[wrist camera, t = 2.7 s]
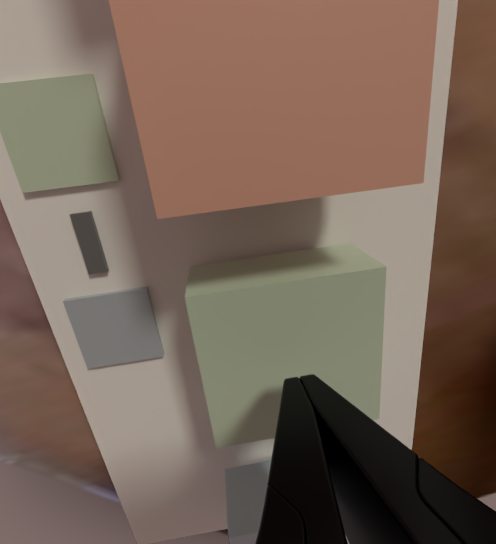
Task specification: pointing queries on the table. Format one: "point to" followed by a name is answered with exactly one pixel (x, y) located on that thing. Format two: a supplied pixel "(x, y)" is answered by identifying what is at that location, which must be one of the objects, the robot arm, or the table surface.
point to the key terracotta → (276, 97)
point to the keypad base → (172, 259)
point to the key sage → (285, 333)
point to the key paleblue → (246, 501)
